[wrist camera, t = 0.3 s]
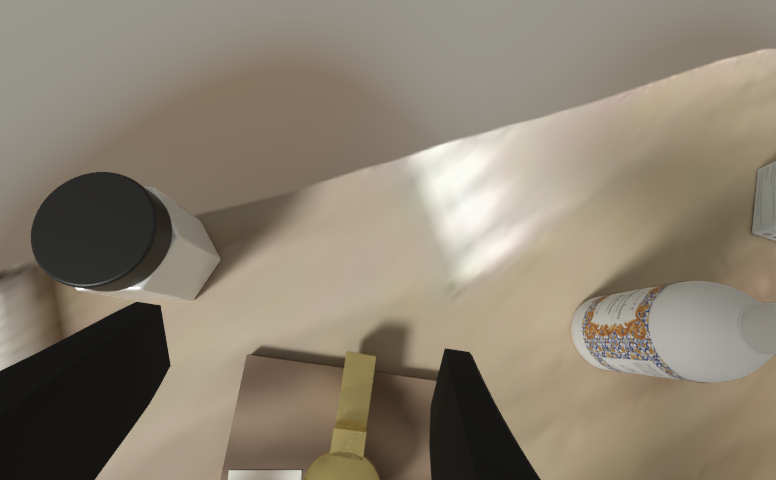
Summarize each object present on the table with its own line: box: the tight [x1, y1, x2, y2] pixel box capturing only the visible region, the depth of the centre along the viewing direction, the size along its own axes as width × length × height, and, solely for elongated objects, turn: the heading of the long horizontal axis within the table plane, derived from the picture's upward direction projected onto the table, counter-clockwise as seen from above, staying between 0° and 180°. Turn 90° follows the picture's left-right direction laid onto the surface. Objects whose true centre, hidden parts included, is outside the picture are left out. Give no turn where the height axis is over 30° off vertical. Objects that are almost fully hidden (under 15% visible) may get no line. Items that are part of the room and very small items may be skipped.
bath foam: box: [571, 281, 776, 383], centre depth 30 cm, size 7×7×20 cm
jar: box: [31, 172, 220, 302], centre depth 33 cm, size 9×8×12 cm
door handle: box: [303, 351, 380, 480], centre depth 33 cm, size 13×6×5 cm, turn 172°
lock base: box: [221, 354, 437, 480], centre depth 34 cm, size 17×20×4 cm
